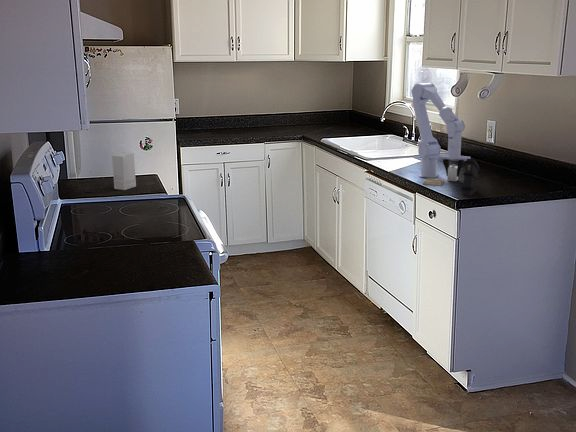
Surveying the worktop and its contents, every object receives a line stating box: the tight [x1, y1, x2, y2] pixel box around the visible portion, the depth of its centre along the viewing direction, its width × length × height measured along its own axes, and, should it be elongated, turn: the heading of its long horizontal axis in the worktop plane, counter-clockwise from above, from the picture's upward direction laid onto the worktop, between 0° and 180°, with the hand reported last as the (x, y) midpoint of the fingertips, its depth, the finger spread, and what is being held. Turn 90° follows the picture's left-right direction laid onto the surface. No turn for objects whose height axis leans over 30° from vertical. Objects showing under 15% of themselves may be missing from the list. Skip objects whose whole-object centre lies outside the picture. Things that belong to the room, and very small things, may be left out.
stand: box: [422, 177, 445, 187], centre depth 299 cm, size 8×8×2 cm
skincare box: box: [111, 152, 137, 191], centre depth 297 cm, size 8×7×16 cm
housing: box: [446, 164, 459, 182], centre depth 303 cm, size 6×4×7 cm, turn 159°
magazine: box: [461, 158, 481, 197], centre depth 278 cm, size 4×13×15 cm, turn 151°
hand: (452, 176), depth 304 cm, fingers closed on housing, 4 cm apart
